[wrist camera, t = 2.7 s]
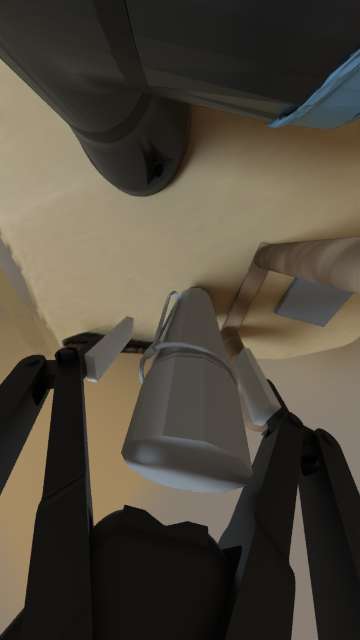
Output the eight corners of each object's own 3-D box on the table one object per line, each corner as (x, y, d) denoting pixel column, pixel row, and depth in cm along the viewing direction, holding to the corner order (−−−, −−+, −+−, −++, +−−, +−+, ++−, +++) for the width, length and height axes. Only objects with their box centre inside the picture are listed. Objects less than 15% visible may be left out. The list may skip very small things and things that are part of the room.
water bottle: (220, 302, 28) (299, 488, 6) (192, 324, 31) (180, 500, 9) (189, 270, 26) (144, 375, 4) (163, 297, 29) (56, 441, 7)
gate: (258, 242, 23) (420, 219, 6) (279, 247, 23) (494, 239, 6) (217, 335, 32) (238, 426, 15) (231, 339, 32) (268, 434, 15)
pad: (306, 260, 23) (309, 261, 23) (362, 276, 23) (367, 276, 23) (273, 312, 28) (275, 313, 27) (320, 324, 28) (323, 326, 27)
